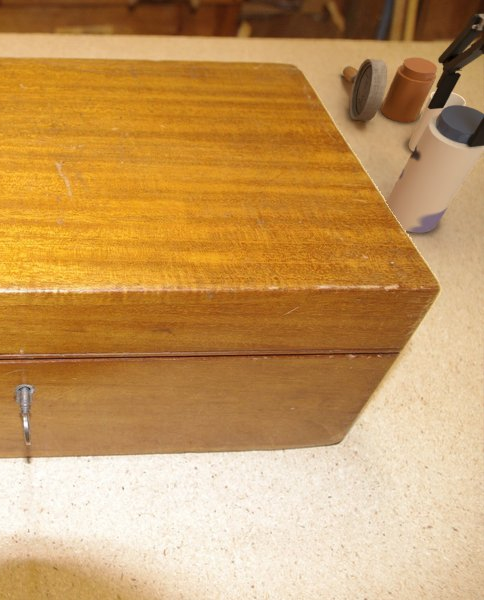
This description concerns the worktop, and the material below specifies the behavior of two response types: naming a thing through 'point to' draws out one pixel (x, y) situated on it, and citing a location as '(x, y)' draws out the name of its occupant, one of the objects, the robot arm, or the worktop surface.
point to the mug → (431, 113)
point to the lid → (458, 123)
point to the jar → (409, 89)
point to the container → (431, 179)
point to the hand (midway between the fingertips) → (454, 125)
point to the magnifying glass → (366, 88)
